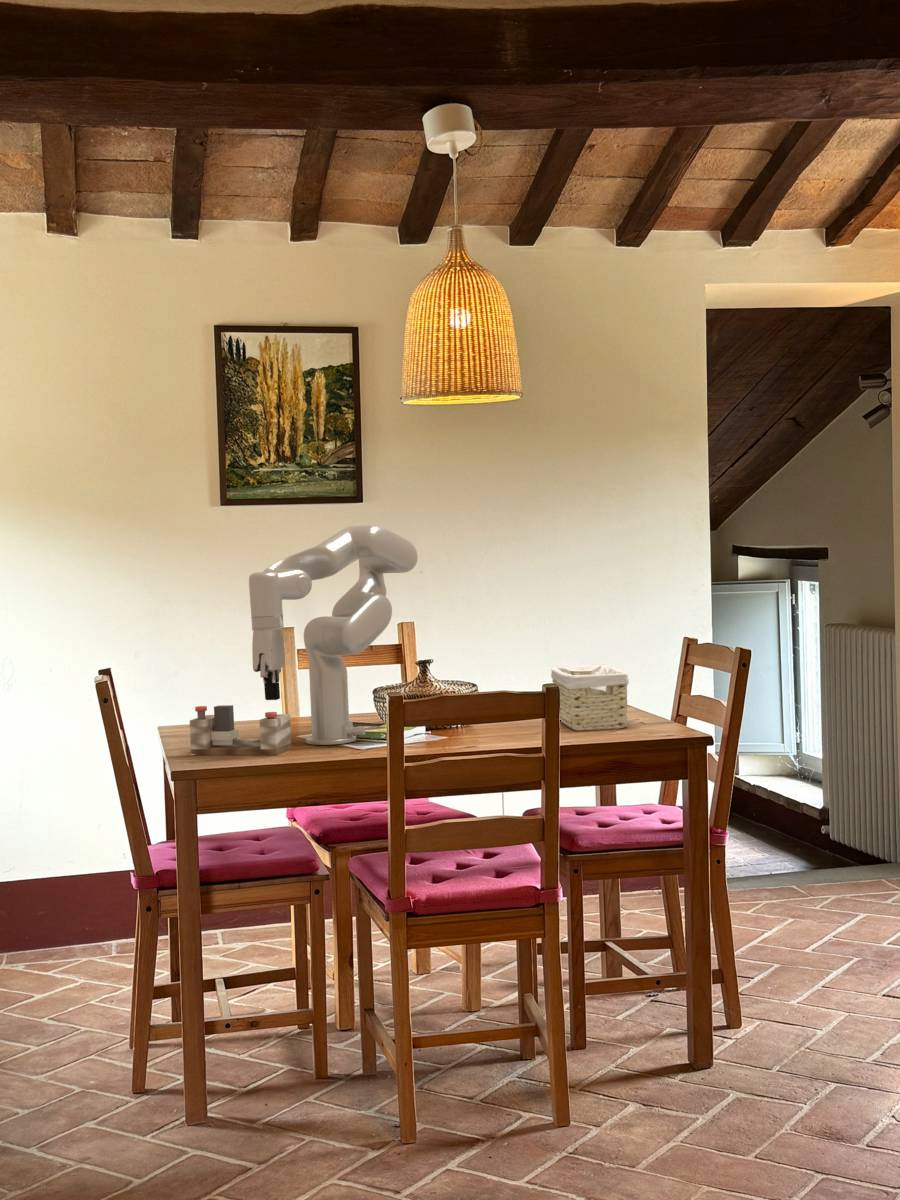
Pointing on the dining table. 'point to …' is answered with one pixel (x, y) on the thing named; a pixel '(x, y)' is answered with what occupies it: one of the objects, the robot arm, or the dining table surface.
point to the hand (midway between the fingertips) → (272, 699)
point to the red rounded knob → (201, 712)
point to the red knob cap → (271, 715)
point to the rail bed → (270, 743)
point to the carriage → (224, 726)
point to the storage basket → (592, 696)
